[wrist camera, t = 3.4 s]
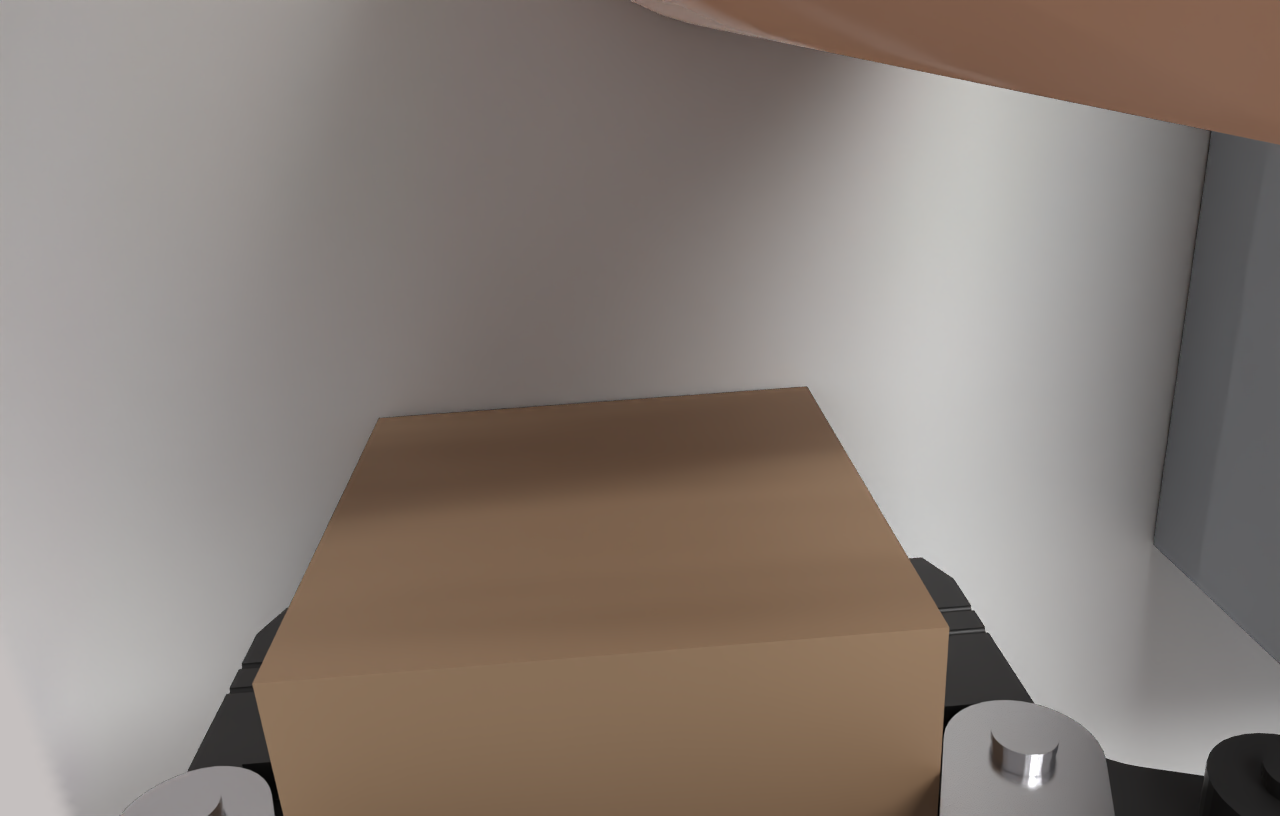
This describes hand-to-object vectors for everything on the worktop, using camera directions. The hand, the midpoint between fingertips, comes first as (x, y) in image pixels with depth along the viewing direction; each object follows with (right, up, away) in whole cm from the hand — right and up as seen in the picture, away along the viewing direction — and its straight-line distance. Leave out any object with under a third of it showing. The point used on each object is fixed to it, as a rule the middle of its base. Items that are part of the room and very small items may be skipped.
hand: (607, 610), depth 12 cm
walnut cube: (0, 0, 0) cm, 0 cm away
